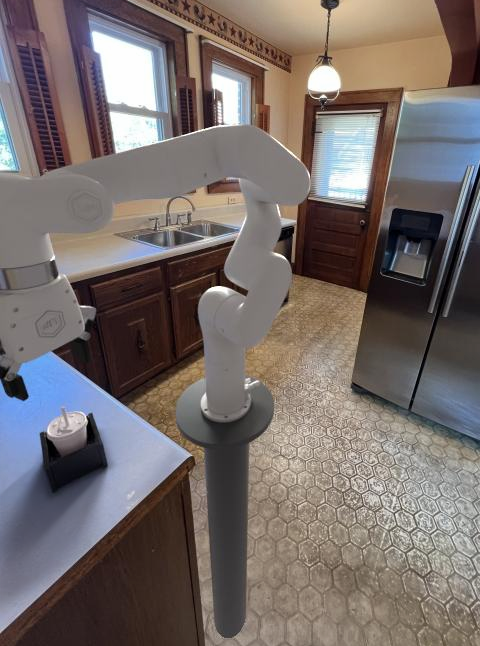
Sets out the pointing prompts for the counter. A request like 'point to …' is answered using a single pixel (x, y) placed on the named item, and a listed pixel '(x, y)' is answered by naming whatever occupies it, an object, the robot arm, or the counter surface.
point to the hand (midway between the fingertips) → (53, 377)
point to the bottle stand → (73, 458)
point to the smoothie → (68, 432)
